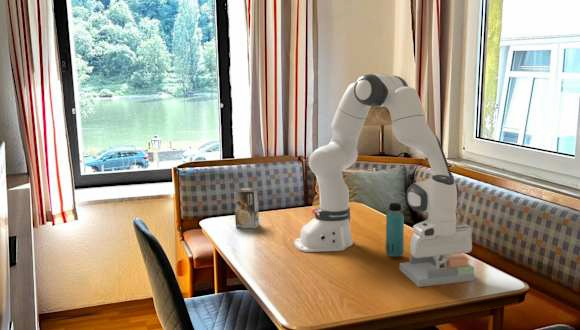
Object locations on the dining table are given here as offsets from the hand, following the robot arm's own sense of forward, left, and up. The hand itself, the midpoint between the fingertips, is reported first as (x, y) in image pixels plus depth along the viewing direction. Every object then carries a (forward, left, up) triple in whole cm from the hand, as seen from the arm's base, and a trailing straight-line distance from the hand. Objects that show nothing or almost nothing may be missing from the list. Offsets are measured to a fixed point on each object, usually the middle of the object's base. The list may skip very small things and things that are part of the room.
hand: (440, 267), depth 191 cm
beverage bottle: (-7, +22, -4) cm, 24 cm away
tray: (0, +3, -4) cm, 5 cm away
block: (+5, 0, -1) cm, 5 cm away
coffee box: (-52, +75, -4) cm, 91 cm away
